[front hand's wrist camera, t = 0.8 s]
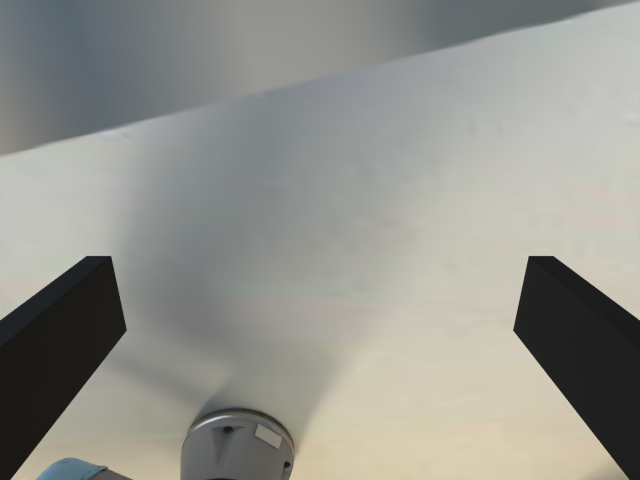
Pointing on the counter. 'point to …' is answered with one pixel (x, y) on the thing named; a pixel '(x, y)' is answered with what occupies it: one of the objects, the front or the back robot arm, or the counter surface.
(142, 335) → the counter surface
